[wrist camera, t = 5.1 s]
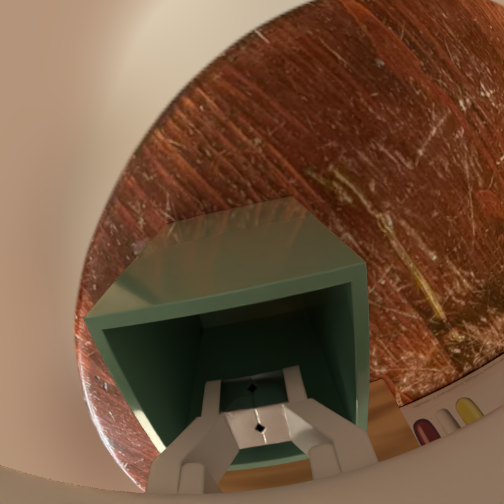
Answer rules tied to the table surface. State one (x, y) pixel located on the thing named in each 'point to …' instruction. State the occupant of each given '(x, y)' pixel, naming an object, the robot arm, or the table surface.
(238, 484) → the stepped wooden molding
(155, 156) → the table surface
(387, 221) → the table surface
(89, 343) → the table surface
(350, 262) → the green rectangular container
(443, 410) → the supplement box
